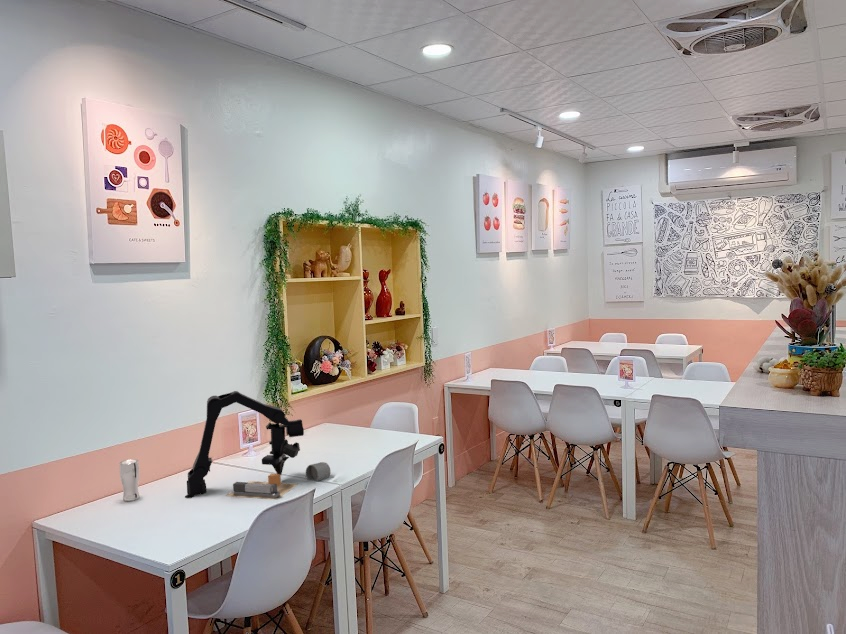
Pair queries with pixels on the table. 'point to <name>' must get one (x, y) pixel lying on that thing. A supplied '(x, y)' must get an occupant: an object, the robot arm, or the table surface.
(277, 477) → the tan rectangular block
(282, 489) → the serving board
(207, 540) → the table surface
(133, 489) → the beer glass
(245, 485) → the tongs upper
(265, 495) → the tongs lower
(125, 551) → the table surface
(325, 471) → the ceramic mug
